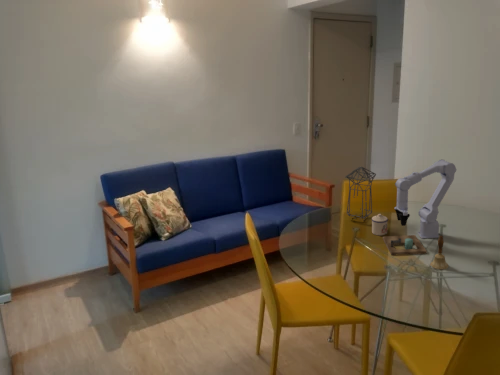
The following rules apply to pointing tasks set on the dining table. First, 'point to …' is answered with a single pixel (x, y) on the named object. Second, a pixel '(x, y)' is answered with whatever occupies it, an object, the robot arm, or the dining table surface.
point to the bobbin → (408, 243)
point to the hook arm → (395, 241)
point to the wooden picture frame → (416, 242)
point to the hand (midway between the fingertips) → (401, 222)
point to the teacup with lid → (379, 225)
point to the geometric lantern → (361, 188)
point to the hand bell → (439, 257)
